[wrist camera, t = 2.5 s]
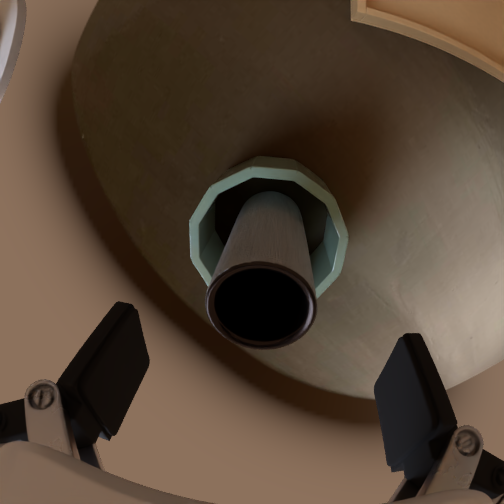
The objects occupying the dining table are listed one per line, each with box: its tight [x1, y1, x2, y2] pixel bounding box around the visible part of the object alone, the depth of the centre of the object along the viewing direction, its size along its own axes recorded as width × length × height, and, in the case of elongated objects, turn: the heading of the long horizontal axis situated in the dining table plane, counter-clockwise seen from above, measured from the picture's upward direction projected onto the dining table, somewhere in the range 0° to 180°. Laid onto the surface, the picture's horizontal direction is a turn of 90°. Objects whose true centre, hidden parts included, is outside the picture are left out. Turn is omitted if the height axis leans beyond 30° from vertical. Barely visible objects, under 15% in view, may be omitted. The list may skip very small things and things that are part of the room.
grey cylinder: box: [205, 191, 317, 350], centre depth 16 cm, size 4×4×10 cm
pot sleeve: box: [189, 156, 349, 298], centre depth 18 cm, size 9×9×4 cm
